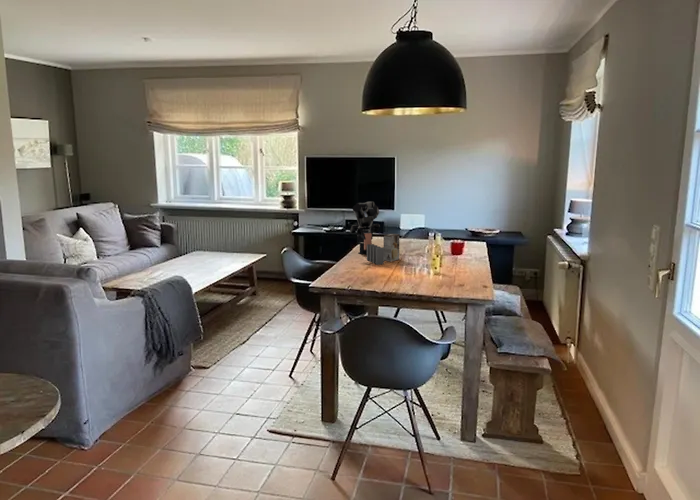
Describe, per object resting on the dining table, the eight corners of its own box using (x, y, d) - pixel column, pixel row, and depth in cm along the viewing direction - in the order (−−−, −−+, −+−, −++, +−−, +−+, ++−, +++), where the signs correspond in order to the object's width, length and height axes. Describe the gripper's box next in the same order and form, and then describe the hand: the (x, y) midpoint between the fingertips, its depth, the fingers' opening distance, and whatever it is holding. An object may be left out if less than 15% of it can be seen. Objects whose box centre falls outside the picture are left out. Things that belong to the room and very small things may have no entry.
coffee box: (391, 258, 344) (391, 233, 341) (399, 259, 340) (399, 234, 338) (383, 260, 337) (383, 235, 334) (391, 261, 333) (392, 236, 330)
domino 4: (375, 264, 326) (375, 247, 324) (382, 263, 327) (382, 247, 325) (376, 264, 324) (377, 248, 322) (383, 264, 326) (383, 247, 324)
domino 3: (372, 262, 330) (372, 246, 328) (379, 262, 331) (379, 246, 330) (373, 263, 328) (373, 247, 326) (380, 262, 330) (380, 246, 328)
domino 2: (369, 261, 334) (369, 245, 332) (376, 261, 335) (376, 245, 334) (370, 262, 332) (370, 246, 330) (377, 261, 334) (377, 245, 332)
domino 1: (366, 260, 338) (366, 244, 336) (373, 259, 340) (373, 244, 338) (367, 260, 336) (367, 244, 335) (374, 260, 338) (374, 244, 336)
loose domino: (363, 249, 341) (364, 233, 339) (370, 248, 343) (370, 233, 341) (365, 249, 339) (365, 234, 338) (371, 249, 341) (371, 233, 339)
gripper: (351, 212, 337) (358, 232, 329) (378, 211, 344) (386, 230, 336) (347, 223, 346) (353, 243, 338) (373, 222, 352) (380, 241, 344)
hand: (368, 239), depth 339 cm, fingers closed on loose domino, 4 cm apart
